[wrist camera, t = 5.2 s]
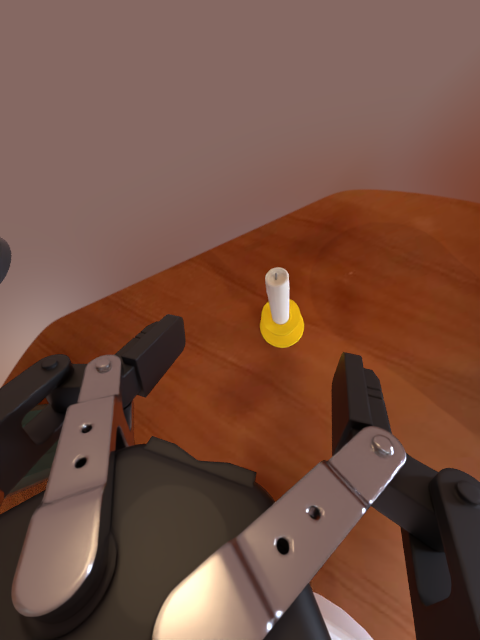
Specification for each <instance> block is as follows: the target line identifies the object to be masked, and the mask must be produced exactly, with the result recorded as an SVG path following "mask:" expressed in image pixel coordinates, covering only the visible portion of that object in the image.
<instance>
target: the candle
mask: <svg viewBox="0 0 480 640" xmlns="http://www.w3.org/2000/svg"><path fill="white" fill-rule="evenodd" d="M288 277H289V275H288V272H287V271H286V270H285V269H283V268H280V267H277V268H273V269H271V270H270V271H268V273H267V274H266V276H265V283H266V290H267V295H268V300H269V302H267V303H266V305H265V306H264V307H263V310H262V315H261V317H262V319H261V321H260V330H261V334H262V336H263V338H264V339H265V340H266V341H267V342H268V343H269V344H271V345H273V346H275V347H281V348H284V347H289V346H291V345H294V344H295V343H296V342H297V341H299V339H300V338H301V336H302V334H303V331H304V322H303V318H302V316H301V314H300V310H299V308H298V306H297V304H296V303H295V302H294V301H292V300H291V299H289V278H288Z"/></svg>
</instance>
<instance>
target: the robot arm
mask: <svg viewBox="0 0 480 640" xmlns="http://www.w3.org/2000/svg"><path fill="white" fill-rule="evenodd" d="M184 347H185V331H184V322H183V318H182V317H179V316H174V315H169V314H167V315H166V316H165V317H163V318H162V319H161V320H160V321H159V322H154V323H152V324H150V325H148V326H147V327H146V328H144V329H143V330H142V331H141V333H139V334H138V335H136V336H135V338H133V339H132V340H131V341H130V342H128V343H127V344H126V345H125V346H124V347H123V348H122V349H120V350H119V351H118V352H117V353H116V354H115V355H104V356H100V357H98V358H95V359H94V360H92V361H91V362H90V363H88V364H72V363H71V361H70V359H69V357H68V356H66V355H63V354H57V355H51V356H48V357H45V358H43V359H41V360H39V361H38V362H36V363H35V364H34V365H32V366H31V367H29V368H28V369H27V370H25V371H24V372H22V373H21V374H20V375H18V376H17V377H16V378H14V379H13V380H11V381H10V382H9V383H7V384H6V385H4V386H3V387H2V388H0V507H1V505H2V503H3V500H4V498H5V497H6V495H7V494H8V493H9V492H10V491H11V490H12V489H13V488H14V487H15V486H16V485H17V484H18V482H19V481H20V480H21V479H22V478H23V477H24V476H25V475H26V474H27V473H28V472H29V470H30V469H31V468H32V467H33V466H34V465H35V464H36V463H37V462H38V461H39V460H40V459H41V457H42V456H43V455H44V454H45V453H46V452H47V451H48V450H49V449H50V448H51V447H52V446H53V444H54V443H55V442H56V441H57V440H58V439H59V441H58V445H57V449H56V452H55V456H54V460H53V464H52V467H51V471H50V475H49V478H48V482H47V486H46V490H44V491H43V492H41V493H39V494H37V495H35V496H33V497H32V498H30V499H28V500H26V501H24V502H22V503H21V504H19V505H17V506H15V507H13V508H11V509H10V510H8V511H6V512H4V513H2V514H0V640H332V639H331V637H330V634H329V632H328V629H327V627H326V624H325V622H324V619H323V616H322V614H321V611H320V609H319V606H318V604H317V601H316V599H315V596H314V593H313V591H312V588H311V586H310V583H309V582H310V581H311V579H312V578H313V577H314V576H315V574H316V573H317V572H318V571H319V569H320V568H321V567H322V566H323V564H324V563H325V562H326V561H327V559H328V558H329V557H330V556H331V555H332V553H333V552H334V551H335V550H336V548H337V547H338V546H339V545H340V543H341V542H342V541H343V540H344V538H345V537H346V536H347V535H348V533H349V532H350V531H351V530H352V528H353V527H354V526H355V525H356V523H357V522H358V521H359V520H360V518H361V517H362V516H363V515H364V514H365V512H366V511H367V510H368V509H369V507H370V506H372V507H373V508H375V509H376V510H377V511H379V512H380V513H382V514H383V515H385V516H386V517H388V518H389V519H390V520H392V521H393V522H395V523H396V524H398V525H399V526H400V527H401V534H402V541H403V548H404V555H405V562H406V569H407V576H408V583H409V590H410V597H411V604H412V611H413V618H414V625H415V632H416V639H417V640H480V482H479V481H477V480H476V479H475V478H473V477H472V476H470V475H469V474H467V473H465V472H463V471H460V470H457V469H454V468H445V469H442V470H441V471H440V472H437V471H435V470H433V469H431V468H430V467H428V466H426V465H424V464H422V463H421V462H419V461H417V460H415V459H414V458H412V457H411V456H409V455H408V454H407V453H406V452H405V450H404V448H403V446H402V444H401V443H400V442H399V440H398V439H397V438H396V437H395V436H394V435H392V432H391V428H390V424H389V420H388V415H387V411H386V407H385V402H384V400H383V394H382V392H381V390H382V389H381V385H380V381H379V379H378V377H377V376H376V375H375V373H374V372H373V371H372V370H370V369H365V368H363V362H362V357H361V356H359V355H355V354H350V353H345V352H343V353H342V355H341V357H340V360H339V363H338V366H337V369H336V372H335V374H334V378H333V382H332V456H333V457H332V458H331V459H329V460H328V461H325V460H323V461H321V462H320V463H318V464H317V465H316V466H315V467H314V468H313V469H312V470H311V471H309V472H308V473H307V474H306V475H305V476H304V477H303V478H302V479H301V480H299V481H298V482H297V483H296V484H295V485H294V486H293V487H292V488H291V489H289V490H288V491H287V492H286V493H285V494H284V495H283V496H282V497H281V498H280V499H278V500H277V501H276V502H275V501H274V499H273V498H272V497H271V496H270V494H269V493H268V492H267V491H266V490H265V489H264V488H263V487H262V486H261V485H259V484H258V483H256V482H255V478H256V472H253V471H251V470H248V469H245V468H242V467H239V466H236V465H233V464H231V463H224V462H208V461H198V460H196V459H195V458H193V457H192V456H191V455H189V454H188V453H187V452H185V451H184V450H183V449H181V448H180V447H179V446H177V445H176V444H173V443H171V442H168V441H165V440H162V439H159V438H156V437H153V436H152V437H151V438H150V440H149V441H148V443H147V444H138V445H135V442H134V401H133V399H134V397H135V396H136V395H140V396H143V397H147V395H148V394H149V393H150V392H151V390H152V389H153V388H154V386H155V385H156V384H157V383H158V381H159V380H160V379H161V378H162V376H163V375H164V374H165V373H166V371H167V370H168V369H169V368H170V366H171V365H172V364H173V363H174V361H175V360H176V359H177V358H178V356H179V355H180V354H181V352H182V351H183V349H184ZM45 397H46V399H47V400H48V402H49V404H48V405H47V406H46V407H45V408H44V409H43V410H42V411H41V412H40V413H39V414H37V415H36V416H35V417H34V418H33V419H32V420H31V421H30V422H29V423H28V424H27V425H25V426H24V427H22V420H23V418H24V417H25V415H26V414H27V413H28V412H29V411H31V410H32V409H33V408H34V407H35V406H36V405H37V404H39V403H40V402H41V401H42V400H43V399H44V398H45Z"/></svg>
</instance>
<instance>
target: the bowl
mask: <svg viewBox="0 0 480 640" xmlns="http://www.w3.org/2000/svg"><path fill="white" fill-rule="evenodd" d="M313 593H314V592H313ZM314 596H315V599H316V601H317V604H318V606H319V609H320V611H321V614H322V616H323V619H324V622H325V624H326V627H327V629H328V632H329V634H330V637H331V639H332V640H373V639H372V638H371V636H370V635H369V634H368V633H367V631H366V630H365V629H364V628H363V627H362V626H360V625H359V624H358V623H357V622H356V621H355V620H354V619H353V618H352V617H351V616H349V615H348V614H347V613H346V612H345V611H344V610H343V609H341V608H340V607H338V606H337V605H335V604H333V603H332V602H330V601H329V600H327V599H326V598H324V597H323V596H321V595H319V594H317V593H314Z"/></svg>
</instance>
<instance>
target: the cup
mask: <svg viewBox="0 0 480 640" xmlns="http://www.w3.org/2000/svg"><path fill="white" fill-rule="evenodd" d="M47 405H48V404H42V405H36V406H35V407H34V408H33V409H32V410H31V411H29V412H28V413H27V414H26V415H25V417H24V418H23V420H22V427H24V426H25V425H27V424H28V423H29V422H30V421H31V420H32V419H33V418H34V417H35V416H36V415H37V414H39V413H40V412H41V411H42V410H43V409H44V408H45V407H46V406H47ZM58 441H59V439H58V440H57V441H56V442H55V443H54V444H53V446H52V447H51V448H50V449H49V450H48V451H47V452H46V453H45V454H44V455H43V456H42V457H41V459H40V460H39V461H38V462H37V463H36V464H35V465H34V466H33V467H32V468H31V469H30V470H29V472H28V473H27V474H26V475H25V476H24V477H23V478H22V479H21V480H20V481H19V482H18V484H17V485H16V486H15V487H14V488H13V489H12V490H11V491H10V492H9V493H8V494H7V495H6V497H5V498H7V497H9V496H12V495H14V494H16V493H19V492H21V491H23V490H26V489H28V488H31V487H33V486H35V485H38V484H40V483H42V482H44V481H46V480H48V478H49V475H50V471H51V467H52V464H53V460H54V456H55V452H56V449H57V445H58ZM5 498H4V499H5Z"/></svg>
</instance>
